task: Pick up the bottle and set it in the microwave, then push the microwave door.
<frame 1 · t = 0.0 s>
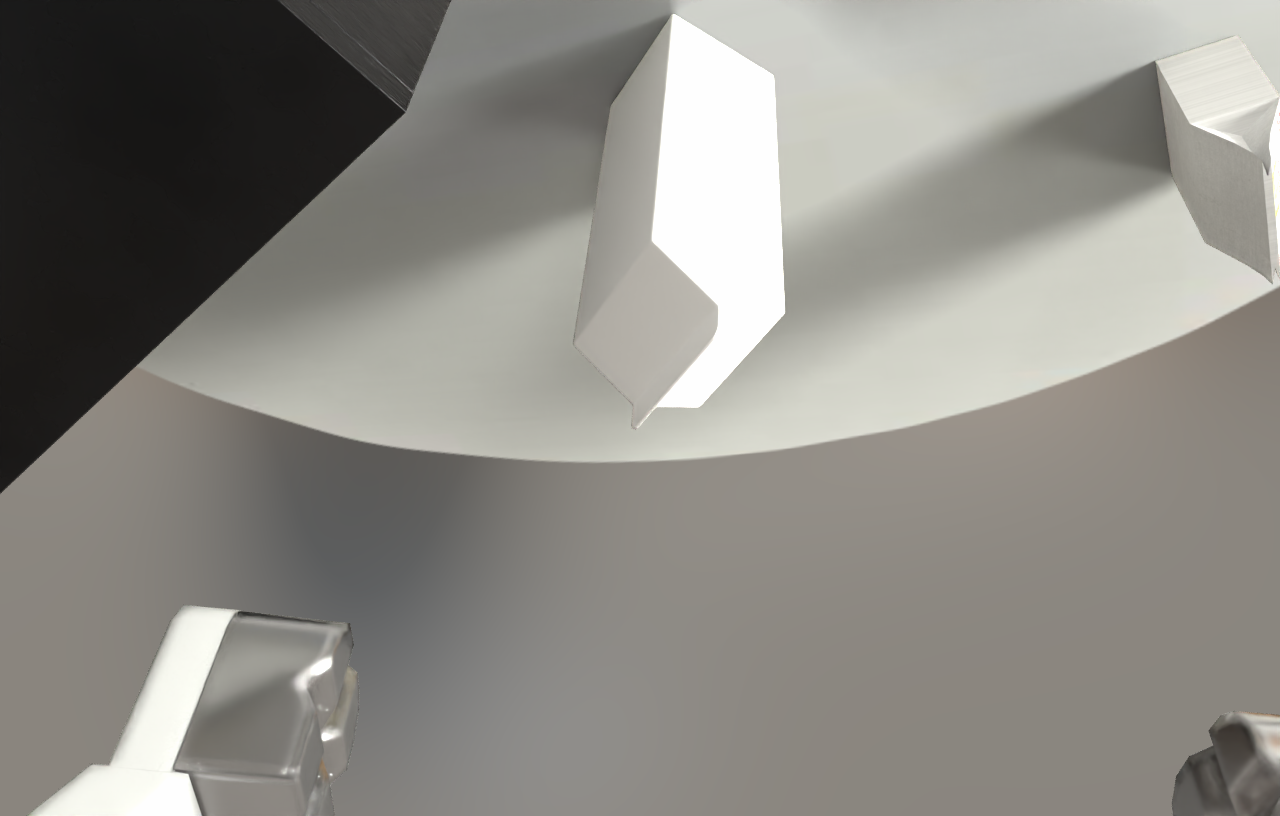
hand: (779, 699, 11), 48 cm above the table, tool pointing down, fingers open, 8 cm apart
milk: (691, 89, 60), on the table
white small box: (1202, 106, 59), on the table
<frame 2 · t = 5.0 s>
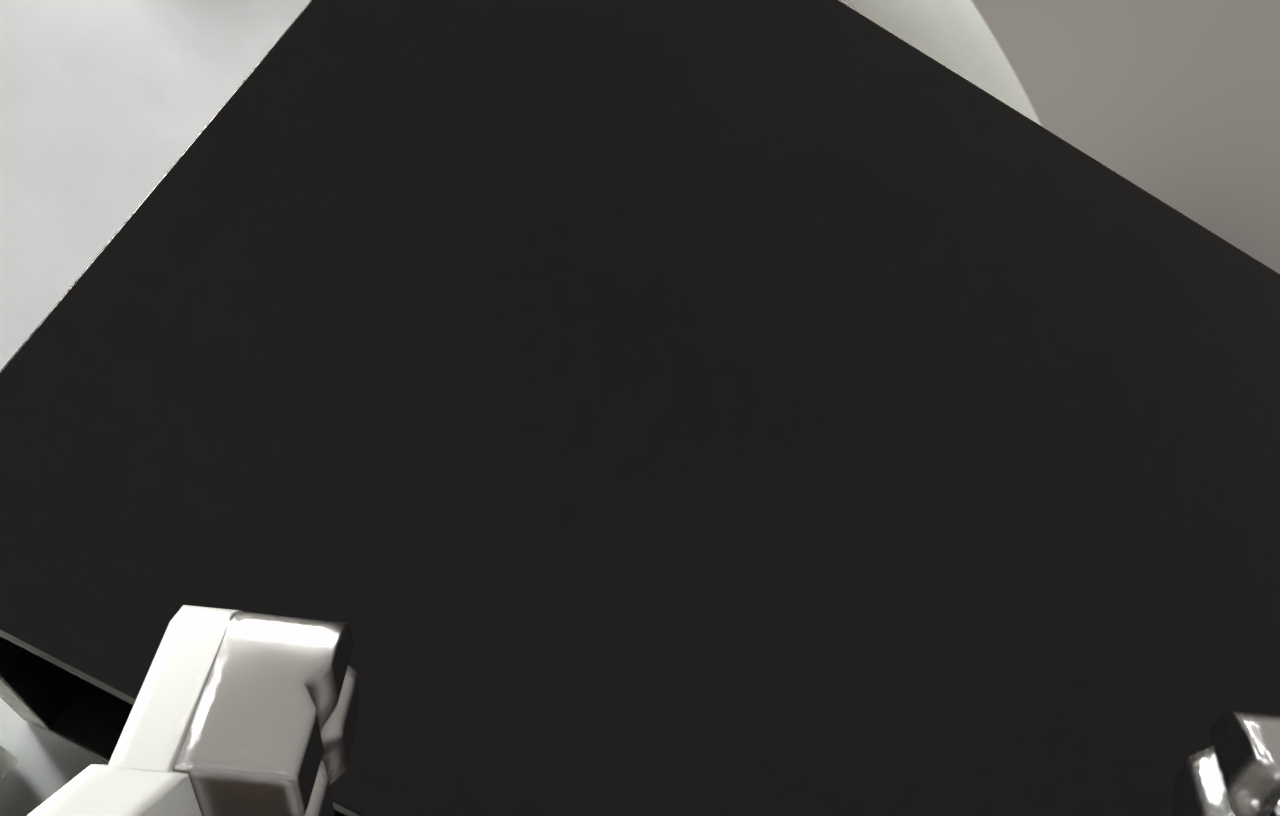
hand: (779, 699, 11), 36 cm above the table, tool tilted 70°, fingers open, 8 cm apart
microwave: (603, 624, 49), on the table
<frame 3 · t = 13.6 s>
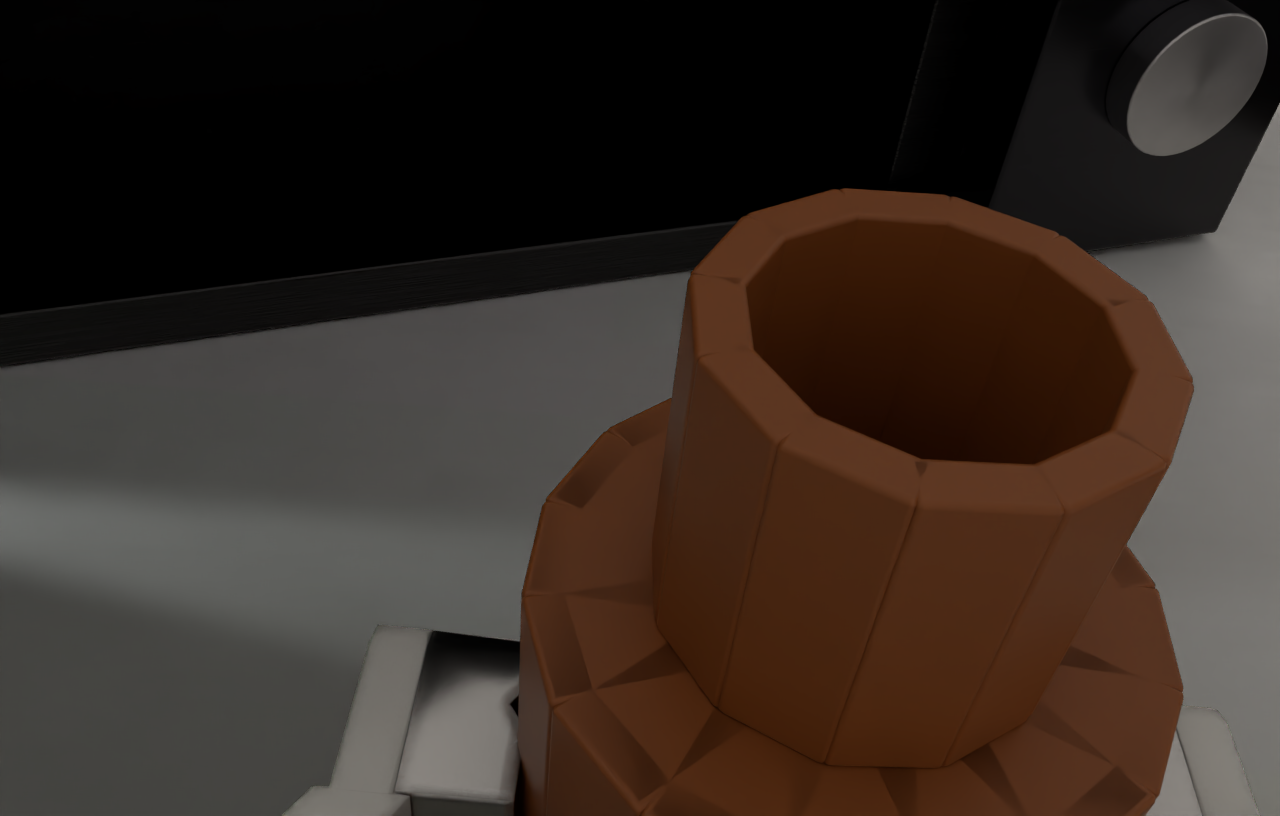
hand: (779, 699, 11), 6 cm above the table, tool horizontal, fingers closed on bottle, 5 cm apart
microwave: (405, 20, 34), on the table
when the fingers open (7 cm above the table, at t = 22.2 s): bottle stays where it is, resting on microwave.
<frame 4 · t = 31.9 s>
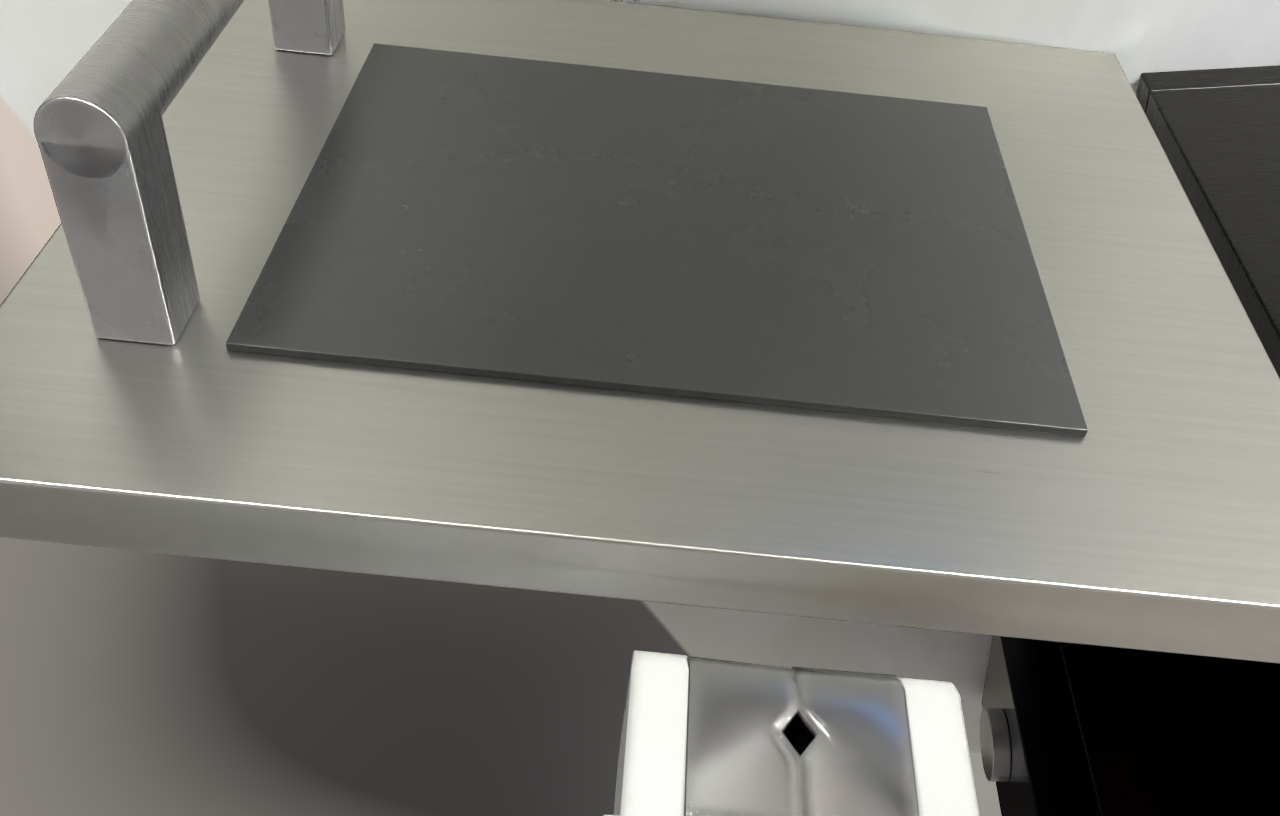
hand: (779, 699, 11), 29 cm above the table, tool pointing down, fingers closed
microwave door: (679, 133, 27), point 11 cm above the table, hinge at 100.0°
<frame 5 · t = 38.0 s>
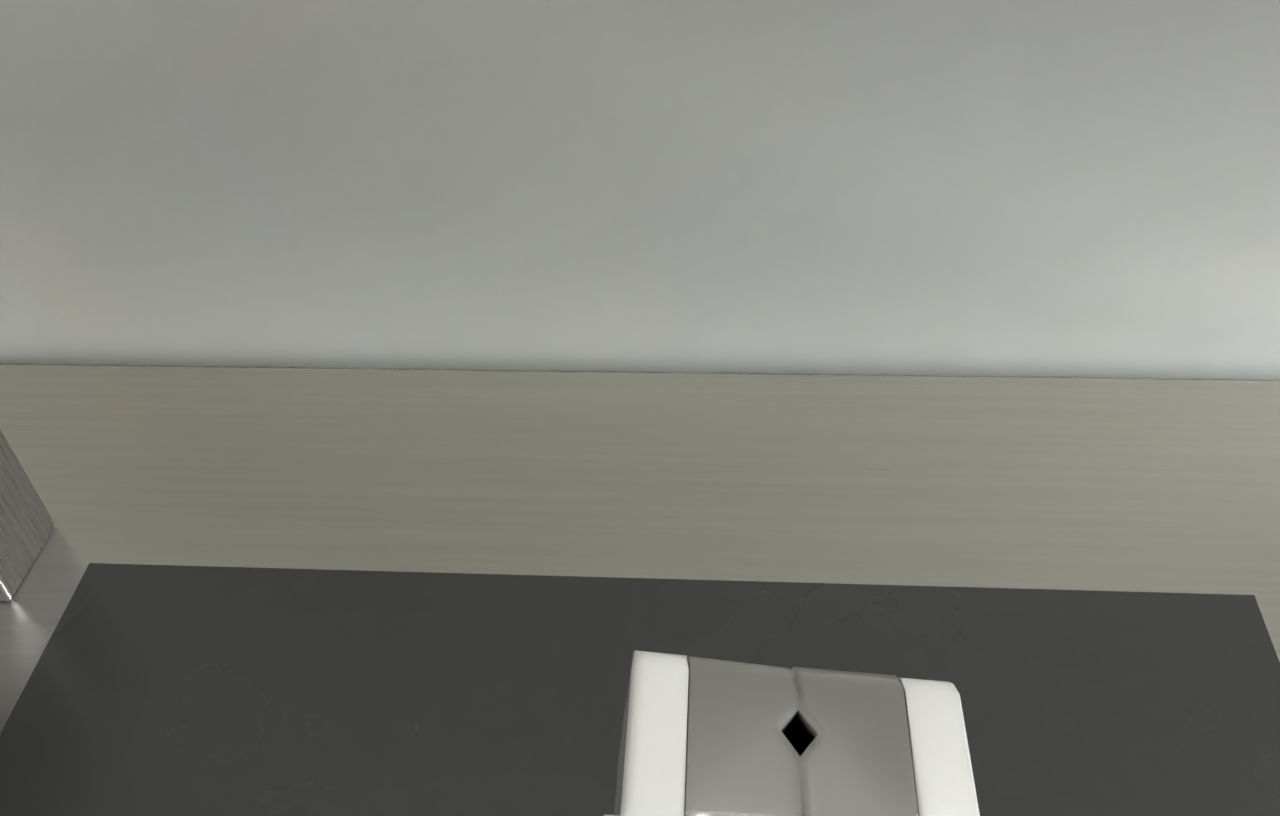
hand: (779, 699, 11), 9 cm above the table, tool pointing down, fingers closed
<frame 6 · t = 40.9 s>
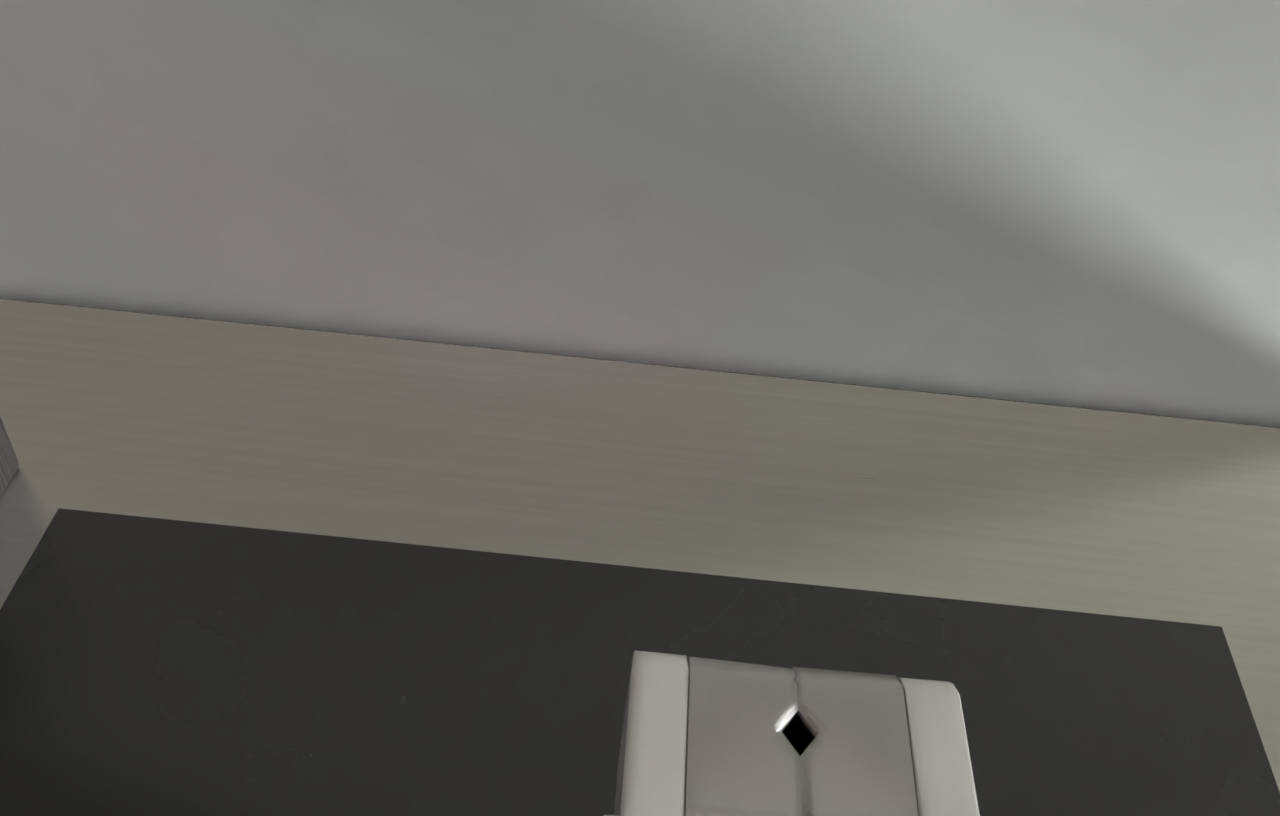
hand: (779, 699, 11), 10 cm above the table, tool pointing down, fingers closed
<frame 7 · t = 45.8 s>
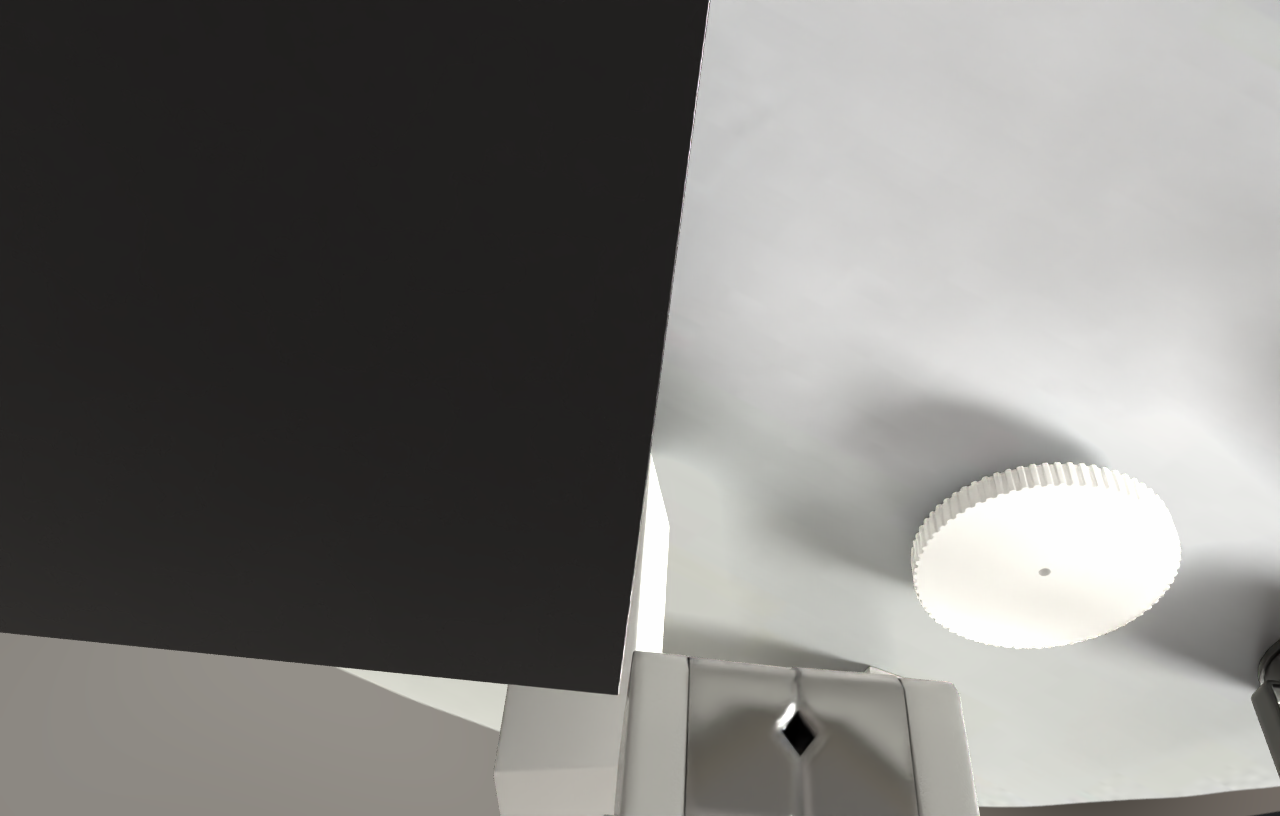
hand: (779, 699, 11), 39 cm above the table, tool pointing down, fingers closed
milk: (608, 491, 67), on the table
microwave: (265, 9, 49), on the table
plastic lid: (1035, 534, 67), on the table
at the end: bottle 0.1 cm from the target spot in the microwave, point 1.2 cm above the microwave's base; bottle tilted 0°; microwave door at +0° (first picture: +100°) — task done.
